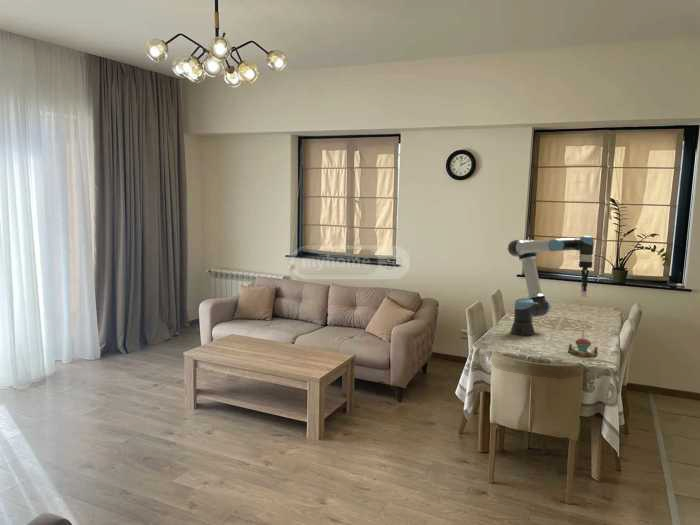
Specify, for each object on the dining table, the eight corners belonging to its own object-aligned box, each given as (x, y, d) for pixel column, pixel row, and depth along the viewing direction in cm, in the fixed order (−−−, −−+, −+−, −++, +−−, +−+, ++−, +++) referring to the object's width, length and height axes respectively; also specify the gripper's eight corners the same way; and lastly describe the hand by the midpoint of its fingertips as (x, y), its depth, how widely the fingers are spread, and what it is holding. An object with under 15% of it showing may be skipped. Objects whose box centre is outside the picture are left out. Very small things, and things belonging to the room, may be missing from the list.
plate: (577, 357, 304) (578, 350, 303) (562, 349, 320) (563, 342, 319) (603, 356, 306) (603, 349, 306) (587, 348, 322) (587, 341, 321)
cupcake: (573, 348, 318) (574, 328, 316) (587, 348, 317) (589, 329, 315) (577, 352, 309) (579, 332, 308) (592, 352, 308) (594, 333, 307)
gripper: (593, 263, 314) (591, 298, 316) (591, 259, 337) (589, 291, 339) (579, 262, 316) (577, 297, 319) (578, 258, 339) (576, 290, 342)
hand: (583, 294), depth 329 cm, fingers open, 13 cm apart
